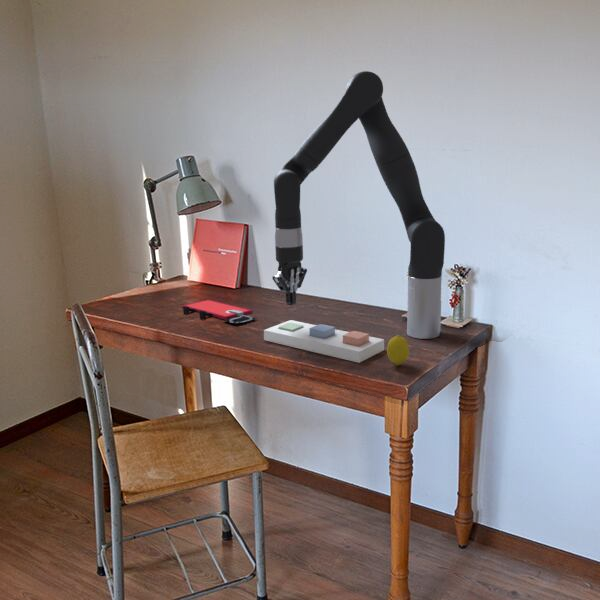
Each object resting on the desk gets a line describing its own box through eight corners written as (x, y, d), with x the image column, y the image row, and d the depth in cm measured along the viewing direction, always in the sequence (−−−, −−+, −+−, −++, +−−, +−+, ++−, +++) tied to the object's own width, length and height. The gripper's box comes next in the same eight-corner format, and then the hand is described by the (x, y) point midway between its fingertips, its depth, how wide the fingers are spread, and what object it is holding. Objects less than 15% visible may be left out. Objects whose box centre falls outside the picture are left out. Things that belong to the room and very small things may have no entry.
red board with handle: (232, 328, 212) (268, 318, 223) (231, 319, 211) (268, 309, 222) (172, 311, 233) (208, 303, 243) (171, 303, 232) (208, 295, 242)
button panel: (290, 329, 209) (290, 319, 208) (383, 350, 190) (384, 339, 189) (264, 340, 200) (263, 330, 199) (359, 362, 181) (359, 351, 180)
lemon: (386, 368, 176) (386, 338, 174) (387, 361, 182) (387, 331, 180) (408, 369, 176) (409, 339, 173) (409, 362, 181) (409, 332, 179)
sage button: (289, 330, 205) (289, 322, 204) (303, 333, 202) (303, 325, 201) (278, 335, 201) (278, 326, 200) (292, 338, 198) (292, 329, 197)
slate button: (320, 332, 198) (320, 323, 197) (335, 335, 195) (335, 326, 194) (309, 337, 194) (309, 328, 193) (324, 340, 191) (324, 331, 190)
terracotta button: (353, 339, 191) (353, 330, 191) (369, 342, 188) (369, 333, 188) (342, 344, 187) (342, 335, 187) (358, 347, 184) (358, 338, 184)
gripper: (293, 238, 202) (295, 297, 206) (262, 246, 192) (265, 308, 196) (314, 241, 197) (316, 301, 202) (284, 249, 187) (286, 312, 192)
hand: (291, 304), depth 199 cm, fingers closed
